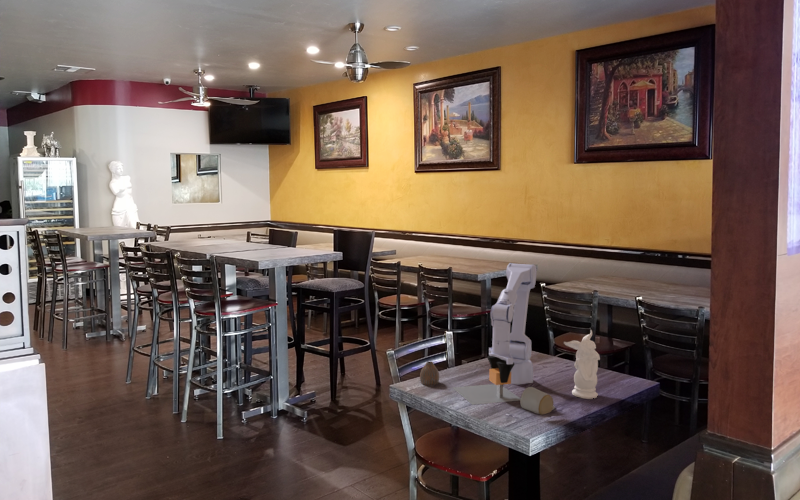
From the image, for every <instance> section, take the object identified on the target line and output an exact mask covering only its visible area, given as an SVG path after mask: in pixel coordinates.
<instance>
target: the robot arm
mask: <svg viewBox="0 0 800 500" xmlns="http://www.w3.org/2000/svg"><path fill="white" fill-rule="evenodd" d="M505 271H506V273H505V275H506V279H507V285H506V287H505V288H504V289H502V291H500V294H499V297H498V298H497V301H496V303H495V304H493V305H492V306H491V309H490V319H491V320H490V321H491V326H492V339H491V341H492V343H491V344H492V346H491V347H488V356H487V357H486V359H487V360H488V362H489V365H490V369H493V368H499V372H500V381H501V383H507V381H508V378H509V374H510V372H511V384H510V385H518V386H519V385H525V384H531V383H534V364H533V361H532V360H531V357H532V340H531V339H530V337H528V336H527V335H526V324H527V323H526V322H527V314H528V307H529V306H528V305H529V296H530V291H531V289H534V288H536V286H535V285H536V284H537V283H536V281H537V266H536V265H535V264H534V263H533V264H530V263H515V262H514V263H513V262H509V263H508V264H507V266H506V270H505ZM511 323H512V325H511Z"/></svg>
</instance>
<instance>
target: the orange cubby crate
mask: <svg viewBox="0 0 800 500" xmlns="http://www.w3.org/2000/svg"><path fill="white" fill-rule="evenodd" d="M488 371H489V373H488V376H489V377H488V381H490V382H491V384H495V385H503V386H504V385H512V384H511V372H510V374H509V378H508V381H507V383H501V381H500V372H499V368H493V369H491V368H489V370H488Z"/></svg>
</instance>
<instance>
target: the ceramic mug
mask: <svg viewBox="0 0 800 500" xmlns="http://www.w3.org/2000/svg"><path fill="white" fill-rule="evenodd" d="M520 398H521V400H519V401H520V403H519V404H520V407H521V409H524V410H526V411H529V412H532V413H535V414H537V415H542V416H543V415H545V414H549V413H551V412H552V411H553V410H555V408H556V406H555V405H554V399H553V397H552V396H551V395H550V394H548V393H547V392H544V391H542V390H540V389H537V388H536V387H534V386H528V387H526V388H525V389H524V390H523V391H522V394H521V396H520Z"/></svg>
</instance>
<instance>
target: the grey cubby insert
mask: <svg viewBox="0 0 800 500" xmlns="http://www.w3.org/2000/svg"><path fill="white" fill-rule="evenodd" d="M503 387H504V385H497V394H496V396H498V397H499V398H503Z"/></svg>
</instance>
